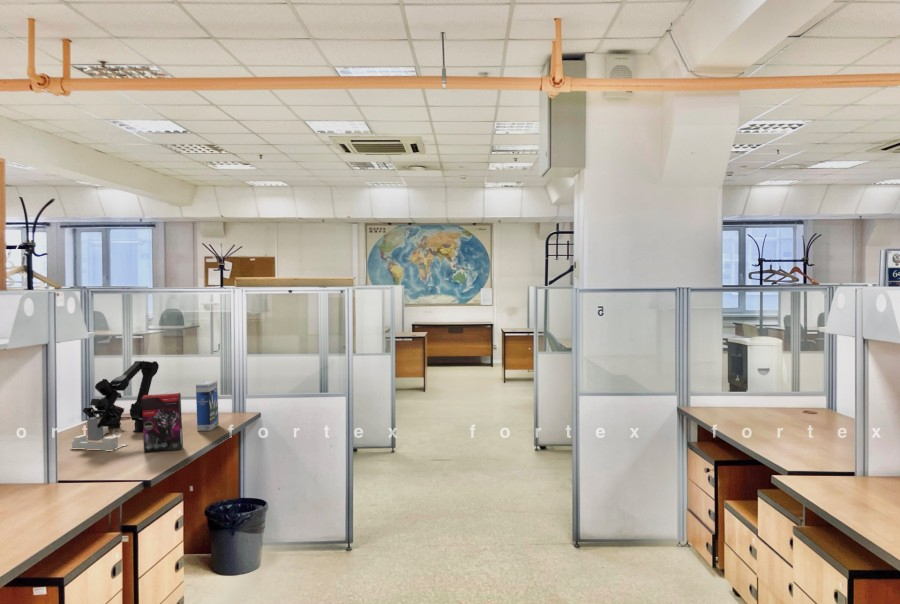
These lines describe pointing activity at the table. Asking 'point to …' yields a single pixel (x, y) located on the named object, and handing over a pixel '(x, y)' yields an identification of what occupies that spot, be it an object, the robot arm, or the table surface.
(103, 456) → the table surface
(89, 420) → the module
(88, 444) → the rail plate
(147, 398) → the graphics card box
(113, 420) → the black flat block
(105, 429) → the block
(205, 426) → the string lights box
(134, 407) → the robot arm
